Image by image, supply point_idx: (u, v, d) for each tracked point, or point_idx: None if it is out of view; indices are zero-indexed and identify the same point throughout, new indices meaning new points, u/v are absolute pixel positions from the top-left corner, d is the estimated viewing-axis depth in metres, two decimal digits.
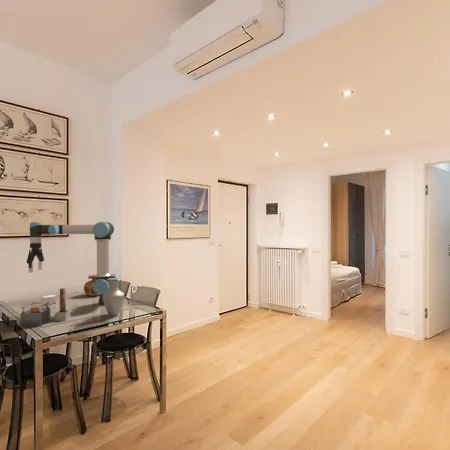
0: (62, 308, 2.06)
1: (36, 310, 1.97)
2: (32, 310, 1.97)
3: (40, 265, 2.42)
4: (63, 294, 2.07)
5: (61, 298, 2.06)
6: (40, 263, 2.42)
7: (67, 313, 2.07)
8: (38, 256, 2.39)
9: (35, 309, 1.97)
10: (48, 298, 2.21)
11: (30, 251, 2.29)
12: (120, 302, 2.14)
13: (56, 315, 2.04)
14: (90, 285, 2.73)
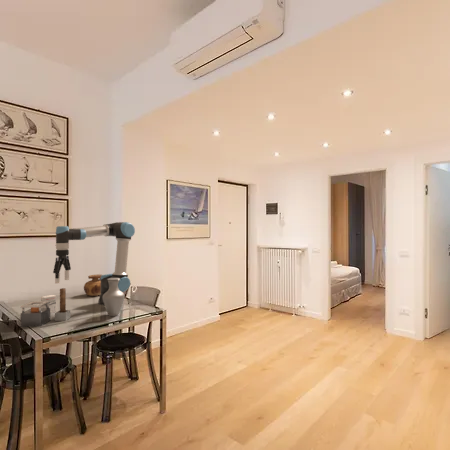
0: (62, 308, 2.06)
1: (36, 310, 1.97)
2: (32, 310, 1.97)
3: (67, 274, 2.15)
4: (63, 294, 2.07)
5: (61, 298, 2.06)
6: (67, 272, 2.15)
7: (67, 313, 2.07)
8: (65, 264, 2.12)
9: (35, 309, 1.97)
10: (48, 298, 2.21)
11: (57, 259, 2.01)
12: (120, 302, 2.14)
13: (56, 315, 2.04)
14: (90, 285, 2.73)
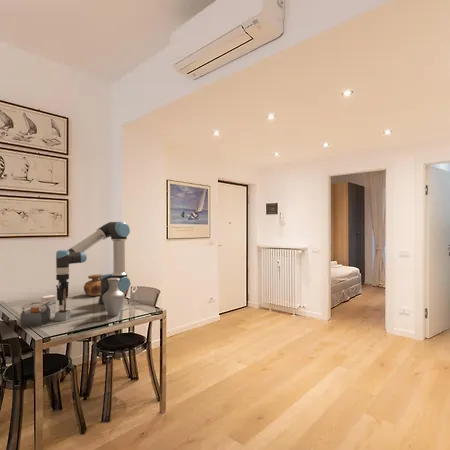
0: None
1: (36, 310, 1.97)
2: (32, 310, 1.97)
3: None
4: (63, 294, 2.07)
5: None
6: None
7: (67, 313, 2.07)
8: None
9: (35, 309, 1.97)
10: (48, 298, 2.21)
11: (58, 287, 2.02)
12: (120, 302, 2.14)
13: (56, 315, 2.04)
14: (90, 285, 2.73)
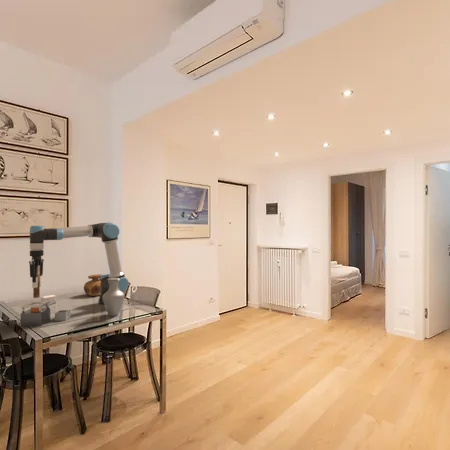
0: None
1: (36, 310, 1.97)
2: (32, 310, 1.97)
3: None
4: (37, 271, 1.98)
5: None
6: None
7: (67, 313, 2.07)
8: None
9: (35, 309, 1.97)
10: (48, 298, 2.21)
11: (31, 263, 1.93)
12: (120, 302, 2.14)
13: (56, 315, 2.04)
14: (90, 285, 2.73)
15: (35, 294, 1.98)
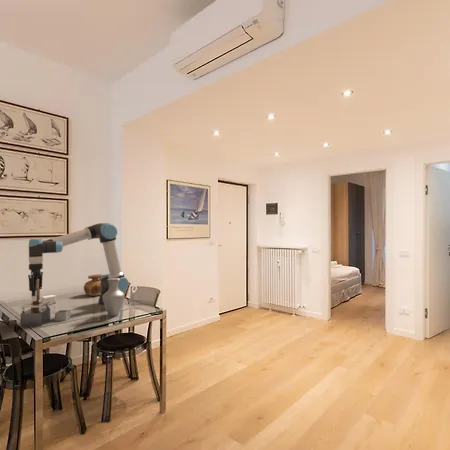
0: None
1: None
2: None
3: None
4: (36, 284, 1.98)
5: None
6: None
7: (67, 313, 2.07)
8: None
9: None
10: (48, 298, 2.21)
11: (30, 277, 1.93)
12: (120, 302, 2.14)
13: (56, 315, 2.04)
14: (90, 285, 2.73)
15: (34, 308, 1.97)
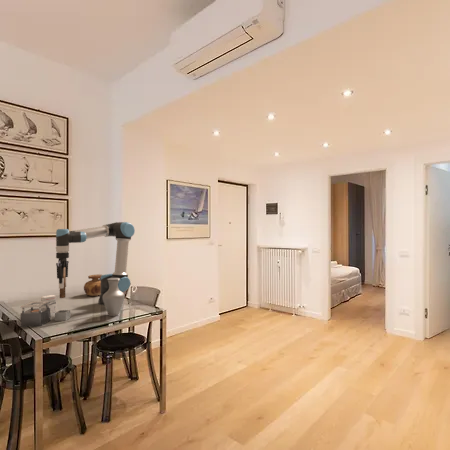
0: None
1: None
2: None
3: None
4: (63, 272, 2.07)
5: None
6: None
7: (67, 313, 2.07)
8: None
9: None
10: (48, 298, 2.21)
11: (58, 265, 2.02)
12: (120, 302, 2.14)
13: (56, 315, 2.04)
14: (90, 285, 2.73)
15: (61, 294, 2.06)
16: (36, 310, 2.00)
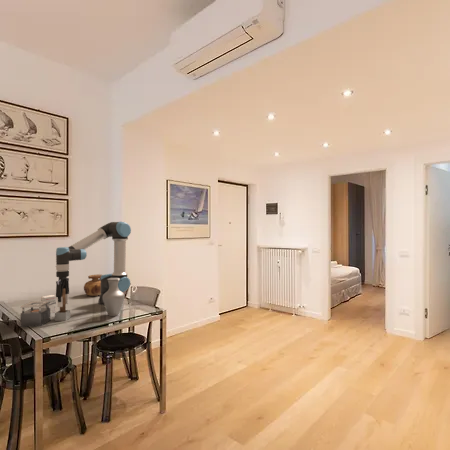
0: (62, 308, 2.06)
1: None
2: None
3: None
4: (63, 294, 2.07)
5: None
6: None
7: (67, 313, 2.07)
8: (64, 287, 2.10)
9: None
10: (48, 298, 2.21)
11: (57, 283, 2.01)
12: (120, 302, 2.14)
13: (56, 315, 2.04)
14: (90, 285, 2.73)
15: None
16: (36, 310, 2.00)
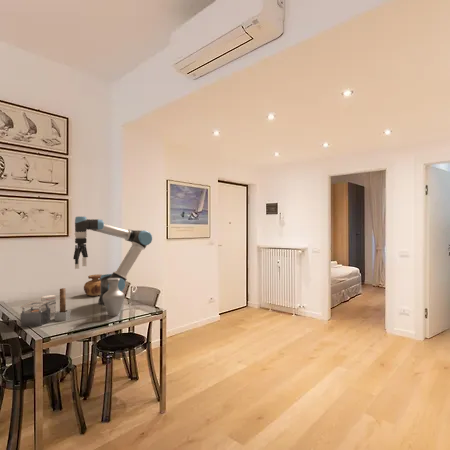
0: (62, 308, 2.06)
1: None
2: None
3: (84, 261, 2.33)
4: (63, 294, 2.07)
5: (61, 298, 2.06)
6: (84, 259, 2.33)
7: (67, 313, 2.07)
8: (82, 252, 2.30)
9: None
10: (48, 298, 2.21)
11: (76, 246, 2.20)
12: (120, 302, 2.14)
13: (56, 315, 2.04)
14: (90, 285, 2.73)
15: None
16: (36, 310, 2.00)
